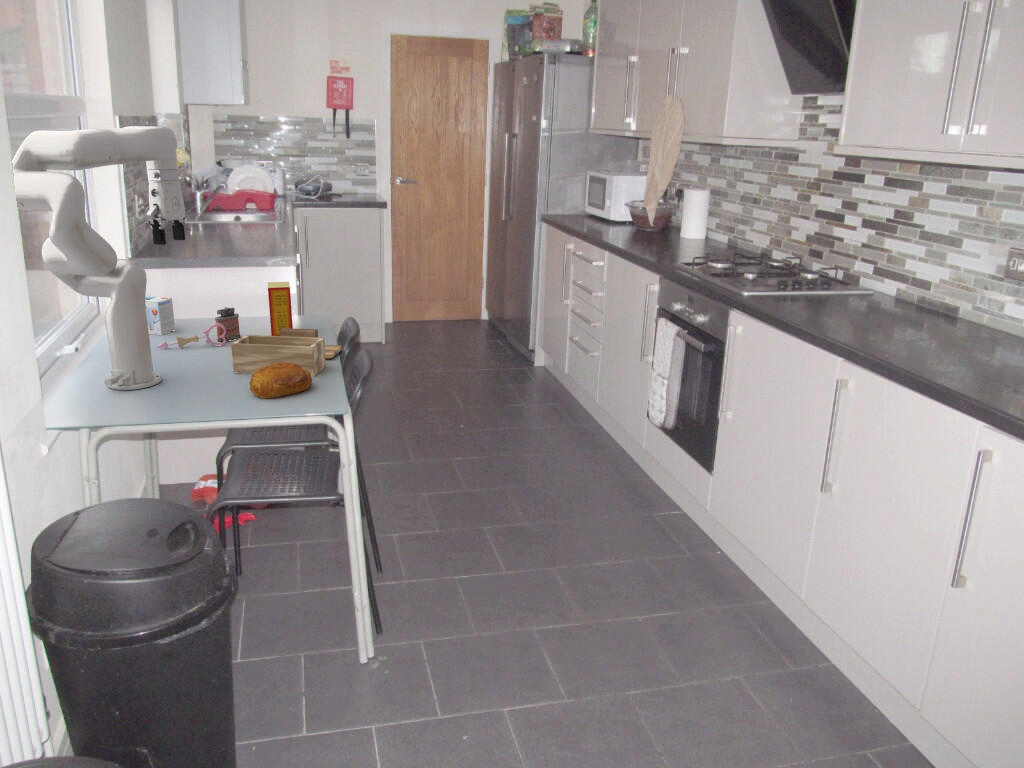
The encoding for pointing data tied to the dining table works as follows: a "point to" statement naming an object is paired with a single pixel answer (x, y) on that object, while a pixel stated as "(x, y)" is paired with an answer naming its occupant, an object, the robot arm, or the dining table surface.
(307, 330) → the wooden block with riser
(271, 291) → the baking soda box
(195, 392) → the dining table surface
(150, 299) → the light bulb box
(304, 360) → the open wooden crate
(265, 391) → the croissant
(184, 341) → the decorative key
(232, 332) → the lighter
